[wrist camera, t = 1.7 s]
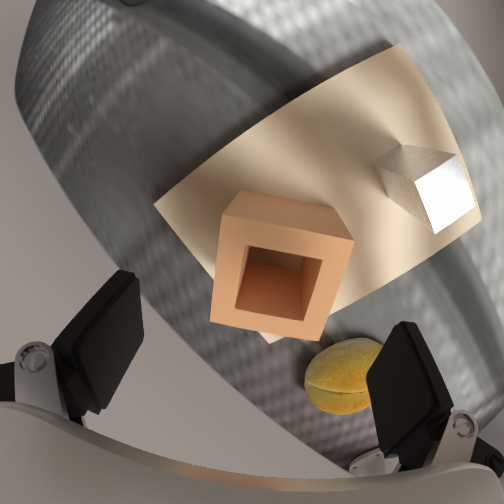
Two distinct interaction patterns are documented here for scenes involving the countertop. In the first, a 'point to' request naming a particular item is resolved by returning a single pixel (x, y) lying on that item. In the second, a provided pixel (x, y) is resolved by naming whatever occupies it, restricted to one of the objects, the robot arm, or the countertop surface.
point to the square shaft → (425, 184)
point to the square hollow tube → (274, 278)
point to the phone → (133, 2)
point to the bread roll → (341, 376)
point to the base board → (329, 173)
